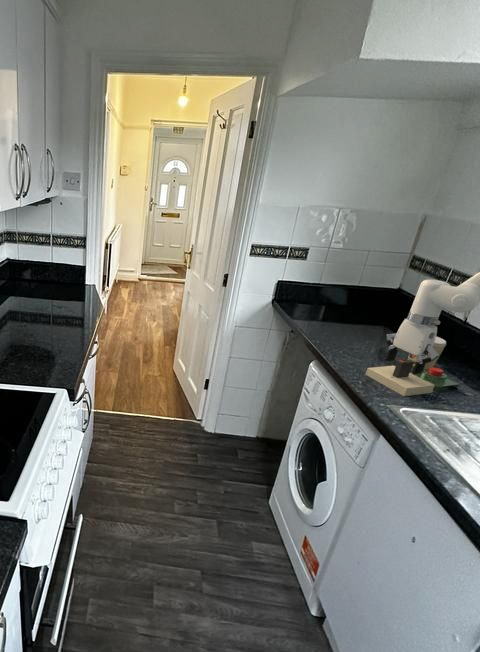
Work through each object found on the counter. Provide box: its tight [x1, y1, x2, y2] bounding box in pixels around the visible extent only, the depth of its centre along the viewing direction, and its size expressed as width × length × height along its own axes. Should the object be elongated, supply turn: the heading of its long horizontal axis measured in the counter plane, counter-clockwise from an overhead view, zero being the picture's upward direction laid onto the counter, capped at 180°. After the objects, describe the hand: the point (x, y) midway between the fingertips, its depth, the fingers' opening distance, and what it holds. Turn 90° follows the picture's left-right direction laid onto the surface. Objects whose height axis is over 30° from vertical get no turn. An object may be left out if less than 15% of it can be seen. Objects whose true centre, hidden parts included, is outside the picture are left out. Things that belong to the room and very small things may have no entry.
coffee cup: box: [407, 336, 447, 370], centre depth 152 cm, size 9×9×12 cm
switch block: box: [410, 369, 460, 393], centre depth 142 cm, size 11×9×4 cm
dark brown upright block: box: [392, 359, 414, 378], centre depth 139 cm, size 5×2×6 cm, turn 106°
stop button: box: [429, 366, 444, 376], centre depth 141 cm, size 4×4×2 cm
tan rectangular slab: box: [364, 365, 435, 397], centre depth 141 cm, size 15×12×3 cm
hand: (402, 366), depth 139 cm, fingers open, 9 cm apart
